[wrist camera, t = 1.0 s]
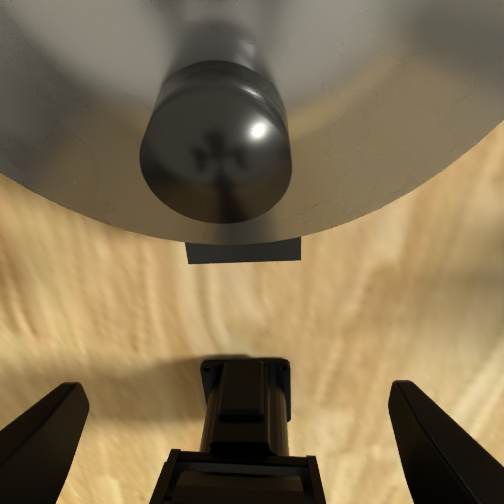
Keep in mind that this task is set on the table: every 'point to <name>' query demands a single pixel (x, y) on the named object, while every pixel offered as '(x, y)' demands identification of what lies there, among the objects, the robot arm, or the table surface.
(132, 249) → the table surface
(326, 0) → the lid
